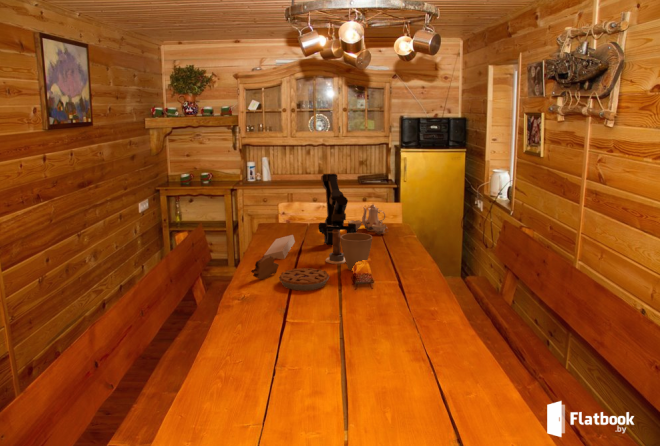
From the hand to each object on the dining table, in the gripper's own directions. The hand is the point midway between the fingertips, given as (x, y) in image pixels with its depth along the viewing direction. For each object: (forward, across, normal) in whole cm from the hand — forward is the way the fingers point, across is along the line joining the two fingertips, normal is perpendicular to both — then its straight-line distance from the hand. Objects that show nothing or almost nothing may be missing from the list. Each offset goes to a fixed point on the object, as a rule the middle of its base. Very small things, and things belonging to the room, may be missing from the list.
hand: (336, 242), depth 277 cm
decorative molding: (-6, -32, +20) cm, 39 cm away
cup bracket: (+6, 0, +8) cm, 10 cm away
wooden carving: (+28, -29, -14) cm, 42 cm away
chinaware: (-41, +13, +55) cm, 70 cm away
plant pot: (+15, +11, -1) cm, 19 cm away
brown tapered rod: (+5, 0, +7) cm, 9 cm away
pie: (+32, -10, -18) cm, 38 cm away
